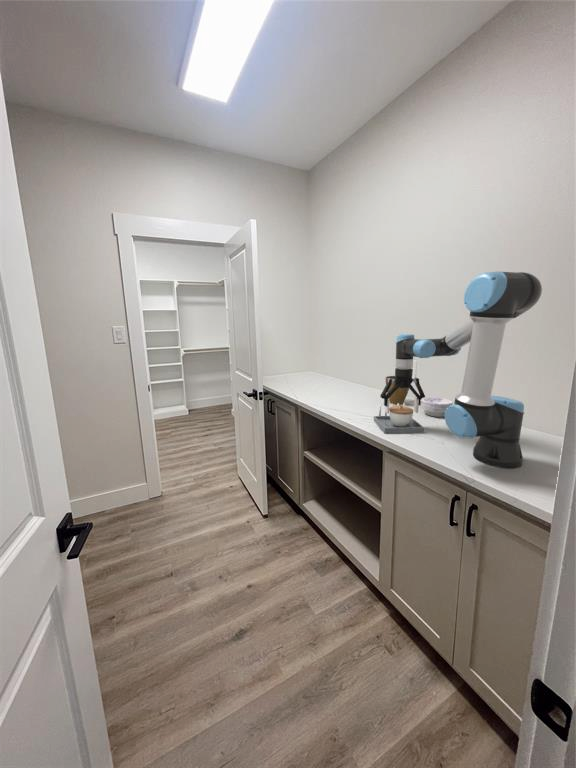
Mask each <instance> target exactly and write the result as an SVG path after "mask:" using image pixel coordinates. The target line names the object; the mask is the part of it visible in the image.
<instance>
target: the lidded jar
mask: <svg viewBox="0 0 576 768" xmlns="http://www.w3.org/2000/svg"><path fill="white" fill-rule="evenodd" d="M413 414H414V408H412V407H409V406H406V405H405V406H403V404H402V405H399V406H397V405H393V406H392V407H391V406H389V415H388V416H390V420H391V421H392V422H393V423H394V425H396V426H401V427H404V426H407V425H408V424H409V423H410V422H411V420H412V418H413V416H414V415H413Z"/></svg>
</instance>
